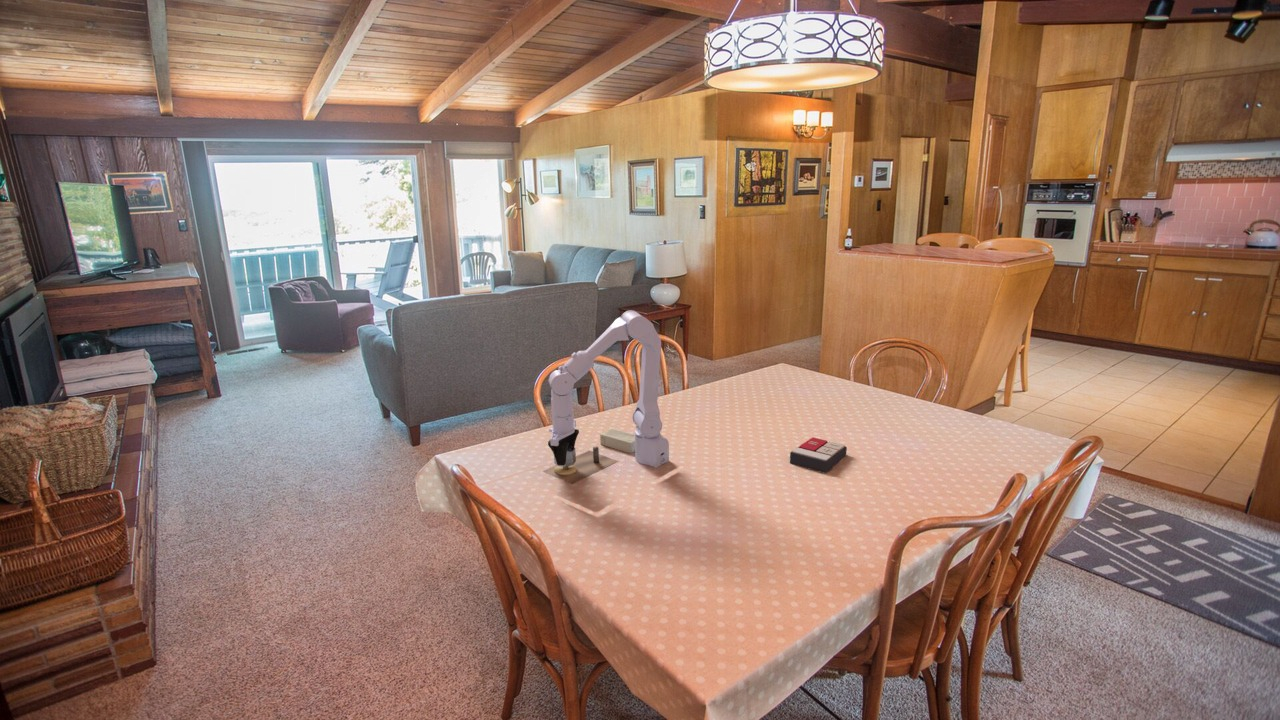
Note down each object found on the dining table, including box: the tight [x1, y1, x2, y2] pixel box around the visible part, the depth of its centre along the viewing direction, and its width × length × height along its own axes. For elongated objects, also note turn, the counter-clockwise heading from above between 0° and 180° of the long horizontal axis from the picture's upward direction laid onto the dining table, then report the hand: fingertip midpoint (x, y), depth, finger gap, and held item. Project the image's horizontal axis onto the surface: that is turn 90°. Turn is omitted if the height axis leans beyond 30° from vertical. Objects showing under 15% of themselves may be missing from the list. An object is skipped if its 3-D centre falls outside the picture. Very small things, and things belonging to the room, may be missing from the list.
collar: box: [553, 445, 577, 467], centre depth 172 cm, size 6×6×4 cm
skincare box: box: [599, 428, 635, 454], centre depth 189 cm, size 6×4×12 cm
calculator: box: [789, 437, 848, 474], centre depth 179 cm, size 11×4×15 cm
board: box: [542, 446, 619, 485], centre depth 175 cm, size 12×18×6 cm, turn 139°
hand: (565, 459), depth 173 cm, fingers closed on collar, 5 cm apart
